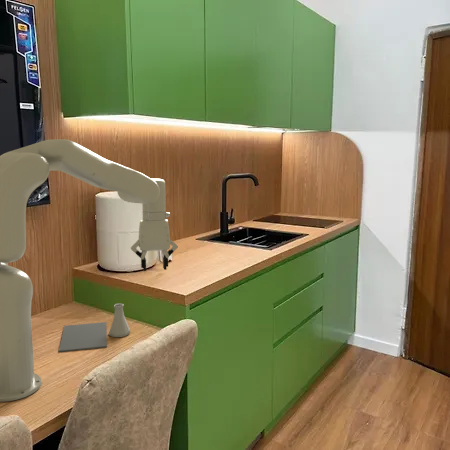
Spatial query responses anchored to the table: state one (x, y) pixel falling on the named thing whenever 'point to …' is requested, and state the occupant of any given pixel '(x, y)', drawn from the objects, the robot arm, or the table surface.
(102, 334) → the mat
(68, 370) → the table surface
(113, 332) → the flask
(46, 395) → the table surface
